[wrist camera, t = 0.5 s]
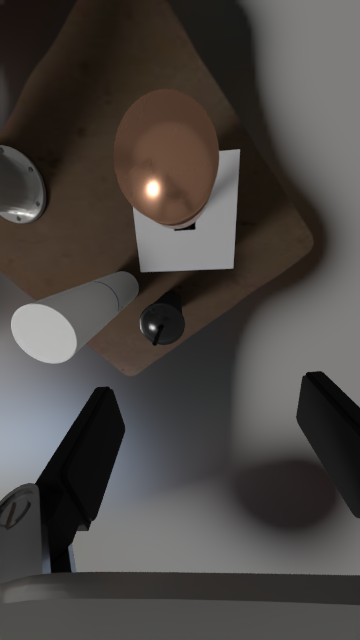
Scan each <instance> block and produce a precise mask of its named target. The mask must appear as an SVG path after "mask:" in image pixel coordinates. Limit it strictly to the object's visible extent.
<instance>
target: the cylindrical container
mask: <svg viewBox="0 0 360 640" xmlns="http://www.w3.org/2000/svg"><path fill="white" fill-rule="evenodd" d="M138 292H139V285H138V282H137V280H136V279H135V277H134V276H133V275H131V274H130V273H128V272H124V271H120V272H116V273H113V274H110V275H108V276H105V277H102V278H99V279H97V280H94V281H91V282H88V283H86V284H83V285H80V286H77V287H74V288H72V289H69V290H66V291H63V292H60V293H58V294H55V295H52V296H49V297H47V298H44V299H41V300H38V301H36V302H33V303H30V304H27V305H25V306H22V307H20V308H19V309H18V310H17V311H16V312H15V313H14V315H13V317H12V321H11V329H12V333H13V336H14V338H15V340H16V342H17V343H18V344H19V346H20V347H21V348H22V349H23V350H24V351H25V352H26V353H27V354H29V355H30V356H32V357H33V358H35V359H37V360H40V361H42V362H46V363H61V362H64V361H66V360H68V359H69V358H70V357H72V356H73V355H74V354H75V353H76V352H77V351H78V350H79V349H80V348H81V347H82V346H83V345H85V344H86V343H87V342H88V341H89V340H90V339H91V338H92V337H93V336H94V335H96V334H97V333H98V332H99V331H100V330H101V329H102V328H103V327H104V326H105V325H106V324H108V323H109V322H110V321H111V320H112V319H113V318H114V317H115V316H116V315H117V314H118V313H120V312H121V311H122V310H123V309H124V308H125V307H126V306H127V305H128V304H129V303H130V302H131V301H133V300H134V299H135V298H136V296H137V295H138Z"/></svg>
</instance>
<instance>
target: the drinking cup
mask: <svg viewBox="0 0 360 640" xmlns="http://www.w3.org/2000/svg"><path fill="white" fill-rule="evenodd" d="M139 324H140V329H141V331H142V333H143V335H144V336H145V337H146V338H147V339H148V340H149V341H151V342H152V344H153V345H154V346H156V345H157V344H160V345H167V344H171V343H174V342H175V341H177V340H178V339H179V338H180V337H181V336H182V334H183V332H184V328H185V321H184V317H183V315H182V307H181V299H180V297H179V296H178V295H177V294H176V293H174V292H167V293H165V294H164V295H162V296H161V297H160V298H159V299H158V300H157V301H156V302H154V303H153V304H151V305H149V306H148V307H146V308H145V309H144V311H143V312H142V314H141V316H140V321H139Z"/></svg>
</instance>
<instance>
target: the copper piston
mask: <svg viewBox="0 0 360 640" xmlns="http://www.w3.org/2000/svg"><path fill="white" fill-rule="evenodd" d="M114 167H115V172H116V176H117V179H118V183H119V185H120V187H121V190H122V192H123V193H124V195H125V197H126V198H127V200H128V201H129V202H130V204H131V205H132V206H133V207H134V208H135V209H136V210H138V211H139V212H140V213H142V214H143V215H145V216H146V217H148V218H150V219H151V220H153V221H155V222H156V223H158V224H160V225H161V226H163V227H166V228H170V229H175V231H183V230H196V229H195V221H196V220H197V219H198V218H199V217H200V216H201V215H202V213H203V212H204V210H205V208H206V206H207V203H208V201H209V198H210V195H211V192H212V189H213V186H214V183H215V180H216V177H217V172H218V167H219V145H218V139H217V135H216V131H215V128H214V126H213V123H212V121H211V119H210V117H209V116H208V114H207V113H206V111H205V110H204V108H203V107H202V106H201V105H200V104H199V103H198V102H197V101H196V100H194V99H193V98H192V97H190V96H189V95H187V94H185V93H183V92H180V91H177V90H171V89H160V90H156V91H152V92H150V93H147V94H145V95H144V96H142V97H141V98H139V99H138V100H137V101H136V102H134V103H133V104H132V106H131V107H130V108H129V109H128V110H127V112H126V113H125V115H124V117H123V119H122V121H121V123H120V125H119V128H118V131H117V134H116V138H115V144H114Z"/></svg>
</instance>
